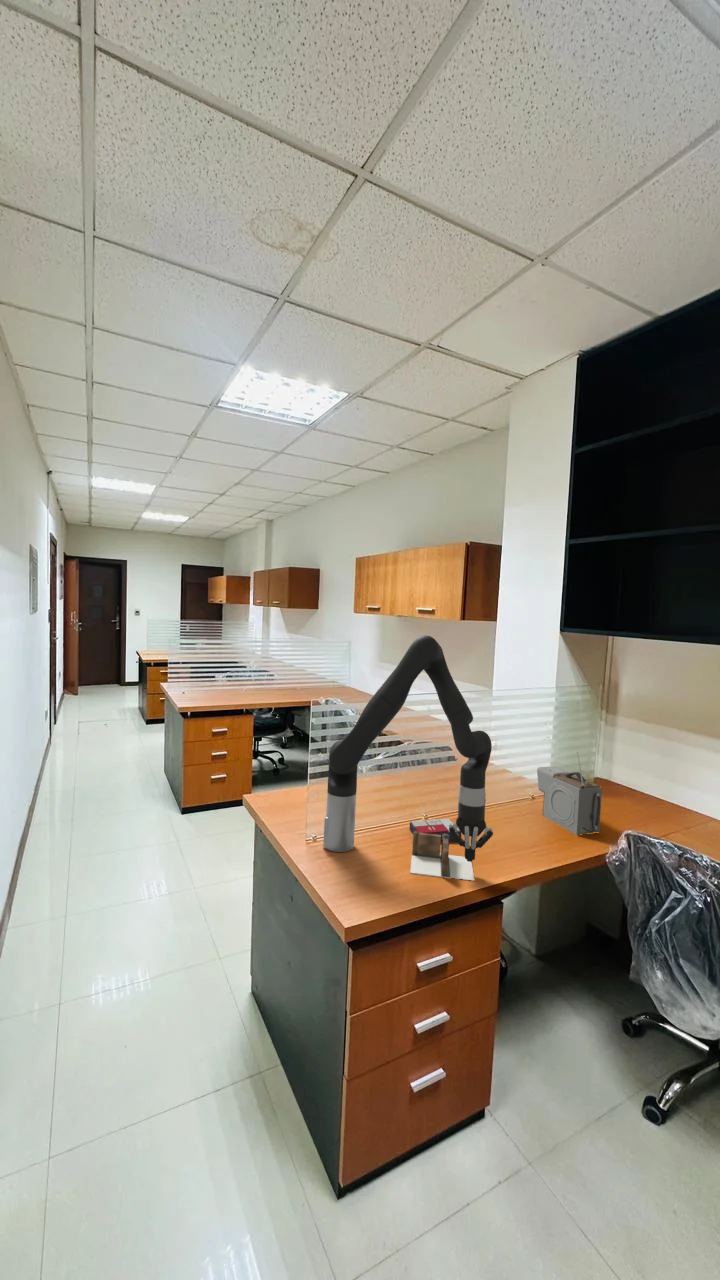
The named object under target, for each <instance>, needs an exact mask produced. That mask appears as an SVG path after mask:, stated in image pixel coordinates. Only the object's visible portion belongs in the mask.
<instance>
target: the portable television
mask: <svg viewBox="0 0 720 1280" xmlns="http://www.w3.org/2000/svg"><path fill="white" fill-rule="evenodd" d="M576 753H577V754H576V755H577V760H578V765H579V768H578V769H579V772H578V771H577V772H576V771H575V772H571V771H568V770H565V769H564V768H561V767H558V766H555V765H553V766H539V767H538V768H537V769H536V772H537V785H538V790H539V791H540V792H541V793H543V808H542V816H543V815H544V817H546V818H548V819H549V820H551V821H553V822H555V823H557V824H559V825H560V826H562V827H564V828H566V829H567V830H569V831H571V832H572V833H574V834H576V835H580V834H587V833H593V832H599V833H600V831H601V830H600V828H601V814H602V811H601V810H602V795H603V793H602V791H603V788H602V787H601V786H600V785H599V784H596V783H594V782H592V781H588V780H586V779H585V777H584V776H583V772H582V767H581V763H580V757H579V751H576ZM544 817H543V818H544ZM546 818H545V819H546ZM549 820H548V821H549ZM551 821H550V822H551ZM553 822H552V823H553ZM555 823H554V824H555ZM560 826H559V827H560ZM562 827H561V828H562ZM567 830H566V831H567ZM569 831H568V832H569ZM571 832H570V833H571ZM572 833H571V834H572ZM574 834H573V835H574ZM576 835H575V836H576Z"/></svg>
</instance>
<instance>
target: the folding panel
mask: <svg viewBox="0 0 720 1280" xmlns="http://www.w3.org/2000/svg"><path fill="white" fill-rule="evenodd" d="M449 855H450V853H449V852H448V839H446V838H443V851H442V866H441V874H442V875H444V876H446V875H448V856H449Z"/></svg>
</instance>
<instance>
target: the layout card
mask: <svg viewBox="0 0 720 1280" xmlns="http://www.w3.org/2000/svg"><path fill="white" fill-rule="evenodd" d="M410 859H411V861H410V872H409V873H410V874H412V875H420V876H426V877H427V876H428V877H436V878H437V877H438V878H443V877H444V879H451V878H455V879H454V880H459V879H463V880H462V881H468V880H471V881H470V882H476V881H475V875H474V869H473V863H472V862H473V861H472V862H469V861H467V859H465V856H461V855H453V854H449V856H448V875H446V876H444V875H442V874H441V866H442V858H441V853H440V856H435V855H426V854H418V855H413V854H412V853H411V858H410Z"/></svg>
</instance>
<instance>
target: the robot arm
mask: <svg viewBox="0 0 720 1280" xmlns="http://www.w3.org/2000/svg"><path fill="white" fill-rule="evenodd" d="M447 664H448V663H447V661H446V658H445V654H444V651H443V648H442V647H441V645H440V644H439V642H438V641H437V640H436V638H434V637H432V636H431V635H422V636H419V637H417V638H415V640H414V641H412V643H411V645H410V646H409V647H408V648H407V651H406V652H405V654H404V655H403V657H402V659H401V660H400V661H399V663H398V665H397V666H396V667H395V668H394V670H393V671H392V672H391V673H390V675H388V677H387V678H386V680H384V682H383V683H382V684H381V686H380V687H379V688H378V689H377V690H376V692H375V693H374V694H373V696H371V698H370V700H369V701H368V702H367V704H366V706H365V707H364V708H363V710H362V712H361V714H360V715H359V718H358V720H357V721H356V723H355V724H354V726H353V728H352V729H351V731H350V732H349V733H348V734H347V735H346V736H345V737H344V738H343V739H340V740H339V739H338V740H337V741H335V742H334V743H333V744H332V746H331V747H330V749H329V753H328V774H327V775H328V776H327V792H326V793H327V796H326V815H325V817H324V822H323V823H324V824H323V825H324V826H323V845H322V846H323V847H322V848H323V849H325V850H329V851H331V852H334V853H335V852H336V853H346V852H349V851H351V850H353V849H354V846H355V829H356V809H357V808H356V806H357V792H358V791H357V790H358V789H357V788H358V787H357V786H358V765H359V763H360V761H361V760H362V758H363V757H364V755H365V753H366V752H367V751H368V749H369V747H371V745H372V743H373V742H374V741H375V740H376V738H378V736H380V735H381V733H382V732H383V731H384V729H385V728H386V727H387V726H388V725H389V724H390V723H391V722H392V720H393V719H394V718H395V717H396V715H397V714H398V713H399V712H400V710H401V709H402V707H403V706H404V704H405V702H406V700H407V697H408V695H409V693H410V690H411V688H412V686H413V684H414V682H415V681H416V679H417V678H418V676H419V675H420V674H421V672H423V671H424V672H425V673H426V674H427V677H428V678H429V679H430V680H431V683H432V685H433V686H434V689H435V692H436V694H437V697H438V700H439V703H440V706H441V708H442V709H443V710H442V711H443V712H444V714H445V716H446V717H447V720H448V722H449V724H450V727H451V732H452V737H453V741H454V742H453V743H454V745H455V748H456V749H457V751H458V752H459V754H460V755H461V756H463V757H464V758H467V759H468V760H467V761H466V762H465V763H464V764H462V765H461V768H460V777H459V789H458V805H457V806H458V807H457V808H458V809H457V818H456V820H455V823H454V824H453V825H449V831H450V833H451V834H452V835H453V837H454V838H455V840H456V841H457V842H456V843H457V844H458V845H459V846H460V847H463V848H464V857H465V859H467V861H469V862H473V861H475V860H476V849H478V848H479V849H482V847H483V846H485V845H486V843H487V842H488V841H489V840H490V839H491V838H492V837H493V835H494V831H493V829H492V828H489V827H488V826H487V823H486V821H485V819H486V818H485V817H486V801H487V799H486V795H487V794H486V772H487V769H488V765H489V761H490V757H491V756H492V755H491V754H492V749H493V747H492V745H493V744H492V740H491V738H490V736H489V733H487V732H485V731H484V730H475V731H472V729H471V727H470V724H471V723H472V722H473V721H474V716H473V713H472V712H471V709H470V708H469V706H468V703H467V702H466V700H465V698H464V696H463V695H462V692H461V690H459V688H458V686H457V684H456V683H455V681H454V678H453V676H452V675H451V672H450V670H449V667H448V665H447ZM457 827H458V828H459V830H460V831H461V835H463V836H464V839H463V838H462V836H461V837H460V835H459V834H458V833H457V831H458V829H457ZM482 833H483V834H482ZM481 834H482V835H481ZM480 835H481V836H480ZM479 836H480V838H479V839H478V837H479Z"/></svg>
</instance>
